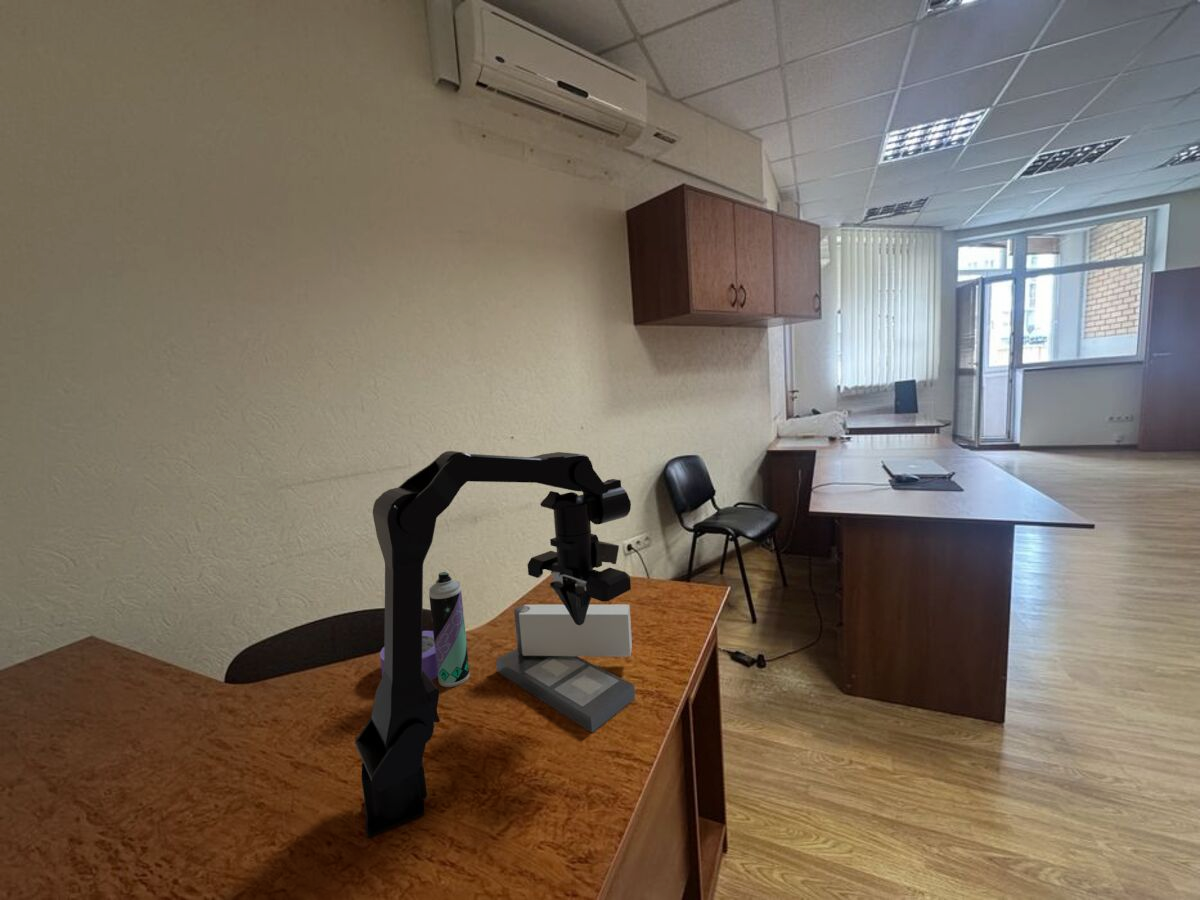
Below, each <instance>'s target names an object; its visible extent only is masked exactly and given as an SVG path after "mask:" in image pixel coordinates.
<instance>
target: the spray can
mask: <svg viewBox="0 0 1200 900" xmlns="http://www.w3.org/2000/svg"><path fill="white" fill-rule="evenodd" d="M428 590H429V593H428V595H429V596H428V597H429V604H430V605H429V606H430V614H431V624H432V631H433V634H434V644H435V653H436V662H437V671H438V677H437V679H438V680H437V681H438V684H439V685H440V686H441V687H445V688H452V687H457V686H460V685H462V684H463V683H465V682H466V681H468V680H469V678H470V675H471V674H470V664H469V655H468V645H467V642H468V641H467V636H466V634H467V633H466V624H465V616H464V615H465V613H464V605H463V604H464V603H463V595H462V587H461V583H460V582H459V581H456V580H454V579H453V578H452V577H451V576H450V573H449V572H446V571H443V572H439V573H438V578H437V580H436V581H435V583H433V585H431V586H430V587H429V589H428Z"/></svg>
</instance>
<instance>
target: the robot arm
mask: <svg viewBox="0 0 1200 900" xmlns="http://www.w3.org/2000/svg"><path fill="white" fill-rule="evenodd" d="M467 482H476V483H477V482H482V483H485V482H486V483H487V482H488V483H528V484H529V483H532V484H534V483H535V484H540V485H544V486H548V487H549V486H550V487H553V488H557V489H558V488H559V489H561V490H562V489H563V490H567V491H568V490H569V491H571V492H566V493H560V492H557V491H552V490H550V491H549V492H548V494H547V496H546V497H545V498H544V499H542V501H541V502H540V507H542V508H546V509H548V510H553V521H554V534H555V537H554V538H550V540H549V541H550V542H549V543H550V546H553V547H555V548H556V551H554V550H549V551H547V552H544V553H541V554H537V555H535V556H532V557H531V558H529V561H528V563H527V573H528V574H527V575H529V576H530V577H534V578H537V579H539V578H541V577H542V575H544V570H547V571H550V574H551V575H552V579H553V580H552V582H550V583H549V586H550V588H552V589H553V591H554V592H555V593H556V595H557V596H558V597H559V599H560V601H561V602H562V605H565V607H566V609H567V610H568V612H569V614H570V615H571V617H572V619H573V620H574V622H575V624H577V625H579V626H580V625H582V624H583V623H584V620H585V617H586V613H587V610H588V607H589V605H590V602H591V600H592V599H594V600H597V601H600V602H602V603H603V602H604V603H605V602H609V601H611V600H613V599H616V598H617V597H619V596H621V595H623V594H625V593H627V592H629V591H631V589H632V588H631V586H632V585H631V583H632V582H631V575H630V574H628V573H627V572H626V571H623V570H619V569H616V568H613V567H608V568H605V569H603V570H597V569H594V568H600V567H602V566H603V563H610V564H612V565H617V560H618V554H619V550H620V548H619V547H620V545H617V544H614V543H610V542H606V541H600V540H599V537H598V536H597V535H598V534H593V533H592V524H594V525H603V524H605V523H609V522H612V521H613V522H614V521H615V520H620V519H623V518H626V517H627V516H628V515H629V513H630V512H631V508H632V507H631V506H632V503H631V499H630V497H629V494H628V493H627V491H626V489H625V488H623V486H622V480H620V479H616V478H611V479H610V478H609V479H607V480H605V481H603V480H602V478H600V476H599V475H598V474H597V472H596V471H595V469H594V467H593V463H592V461H591V459H590V457H589V456H588V455H586V454H581V453H576V452H575V453H573V452H562V451H561V452H560V451H557V452H550V453H543V454H538V455H536V456H535V455H534V456H529V457H528V456H527V457H526V456H513V455H495V454H493V455H492V454H478V453H466V452H463V451H455V450H448V451H445V452H443V453H441V454H439V456H438V457H436V459H434V460H433V461H432V462H431V463H430V464H428V465H427V466H425V467H424V468H422V469H421V470H419V471H417V472H416V473H415V474H413V475H412V476H410V477H409V478H408V479H406V480H405V481H404V482H403V483H402V484H400V485H399V486H398V487H394V488H390V489H388V490H386V491H384V492H382V493H381V494H380V496H378V498H376V500H375V502H374V503H373V508H372V518H373V522H374V527H375V533H376V538H377V541H378V544H379V545H378V546H379V548H380V550H381V554H382V557H383V560H384V640H383V641H384V646H383V647H384V674H383V677H382V676H381V679H380V681H379V684H378V686H377V688H376V691H375V696H374V701H373V707H372V711H371V717H370V718H369V720H368V721H367V723H366V724H365V725H364V727H363V729H362V730H361V731H360V733H359V734H358V735H357V737H356V739H355V740H354V744H355V747H356V749H357V752H358V754H359V756H360V758H361V760H362V763H361V785H362V786H361V787H362V792H363V802H364V809H365V835H366V837H367V838H372V837H373V836H376V835H379V834H382V833H384V832H386V831H389V830H390V829H391V830H392V829H394V828H396V827H398V826H401V825H402V824H403V825H404V824H405V823H408V822H410V821H413V820H416V819H417V818H419V817H422V816H423V815H425V811H426V809H425V803H424V799H426V798H427V796H428V791H427V783H426V782H427V781H426V775H425V768H424V760H423V757H424V753H425V749H426V746H427V745H426V744H427V743H428V742H429V741H431V739H432V737H433V735H434V730H435V723H440V721H441V719H440V717H439V715H438V704H439V698H440V693H439V692H440V690H439V688H438V687H437V686H436V684H435V683H434V682H433V680H430V679H429V677H428V676H427V675H426V674H425V673H424V671H422V631H423V609H424V608H423V605H424V604H423V601H424V599H423V597H424V596H423V595H424V594H423V593H424V591H423V590H424V588H423V587H424V586H423V585H424V563H425V560H426V557H427V555H428V553H429V550H430V548H431V546H432V543H433V540H434V535H435V534H434V533H435V528H436V525H437V524H436V523H437V518H438V517H439V516H440V515H441V514H442V513H443V512H444V511H445V510H446V509H447V508H449V506H450V505H451V504H452V502H453V501H454V499H455V497H456V496H457V494H458V493H459V491H460V490H461V488H462V487H463V486H464V485H466V483H467ZM572 491H573V492H572ZM574 491H575V492H574ZM576 492H582V494H577V493H576ZM591 523H592V524H591Z"/></svg>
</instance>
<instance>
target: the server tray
mask: <svg viewBox="0 0 1200 900" xmlns="http://www.w3.org/2000/svg"><path fill="white" fill-rule="evenodd" d="M495 663H496V665H495V666H496V671H497V673H498V674H500V675H501V676H503V677H504V678H506V679H508V680H509V681H511V682H512V683H514V684H515V685H517V686H518V687H520V688H521V689H523V690H524V691H526V692H528V693H529V694H531V695H532V696H534V697H536V698H537V699H539V700H540V701H541V702H543V703H544V704H546V705H548V706H550V707H551V708H553V709H554V710H556V711H557V712H559V713H561V715H563V716H565V717H566V718H568V719H569V720H571V721H573V722H575V724H578V725H579V726H581V727H582V728H584V729H586V731H588V732H590V733H591V734H592V733H594V732H596V731H597V730H598V729H599V728H601V726H603V725H604V724H606V722H608V721H609V720H610V719H612V718H613V717H614V716H616V715H617V714H618V713H619V712H620V711H622V710H623V709H624V708H626V707H627V706H628V705H630V704H631V703H632V702H633V701H635V699H636V695H635V694H636V692H635V684H633V683H631V682H629V681H628V680H625V679H623V678H622V677H619V676H618V675H615V674H613V673H611V672H609V671H608V670H606V669H603V668H601V667H599V666H597V665H595V664H593V663H591V662H590V661H587V660H585V659H583V658H581V657H580V656H524V655H522V654H520V653H518V649H517V648H514V649H512V650H511V651H509V652H507V653H505V654H503V655H502V656H500V657H497V658H496V659H495Z"/></svg>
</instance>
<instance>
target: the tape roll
mask: <svg viewBox="0 0 1200 900" xmlns="http://www.w3.org/2000/svg"><path fill="white" fill-rule="evenodd" d="M379 659H380V668H381V678H382V677H383V674H384V646H383V647H382V648H381V650H380V652H379ZM422 671H424V673H425V674H426V675H427V676H428V677H429V679H430V680H431V681H433V680H435V679H437V678H438V671H437V662H436V653H435V644H434V634H433V630H422Z"/></svg>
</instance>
